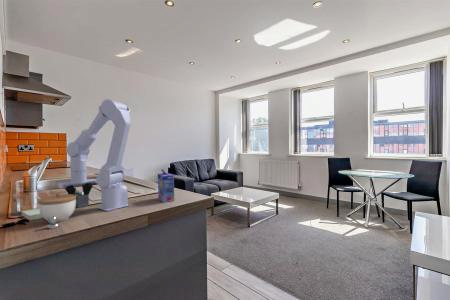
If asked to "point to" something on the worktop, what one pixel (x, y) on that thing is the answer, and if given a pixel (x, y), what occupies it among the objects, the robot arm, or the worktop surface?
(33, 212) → the stand
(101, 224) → the worktop surface
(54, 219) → the bolt
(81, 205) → the housing
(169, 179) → the blue juice carton
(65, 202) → the lidded jar
